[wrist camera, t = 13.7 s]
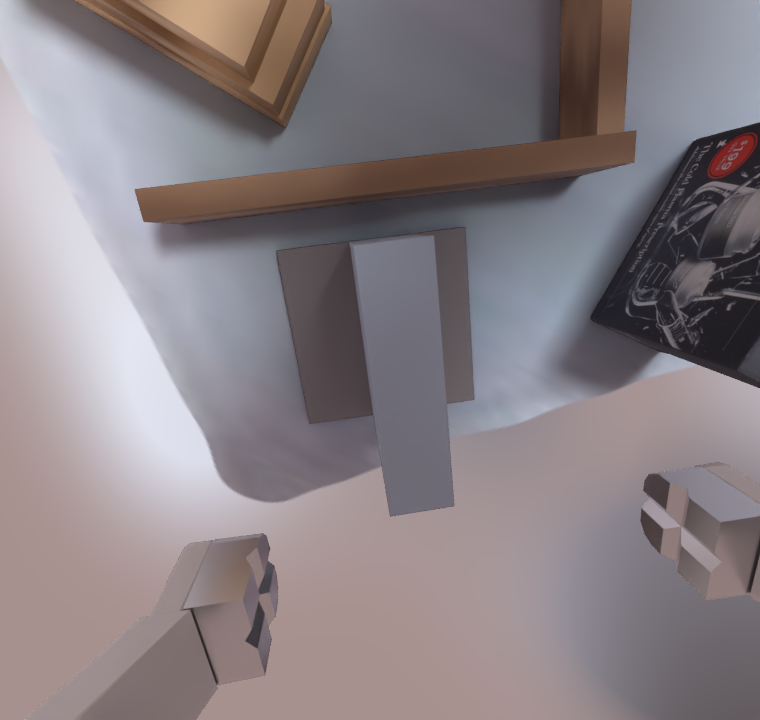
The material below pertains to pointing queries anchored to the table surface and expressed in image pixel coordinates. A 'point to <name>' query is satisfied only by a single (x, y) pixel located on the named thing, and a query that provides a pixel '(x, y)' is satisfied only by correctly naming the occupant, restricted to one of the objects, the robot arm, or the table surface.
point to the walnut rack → (454, 169)
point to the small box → (698, 262)
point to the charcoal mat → (343, 328)
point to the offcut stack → (233, 43)
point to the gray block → (405, 368)
